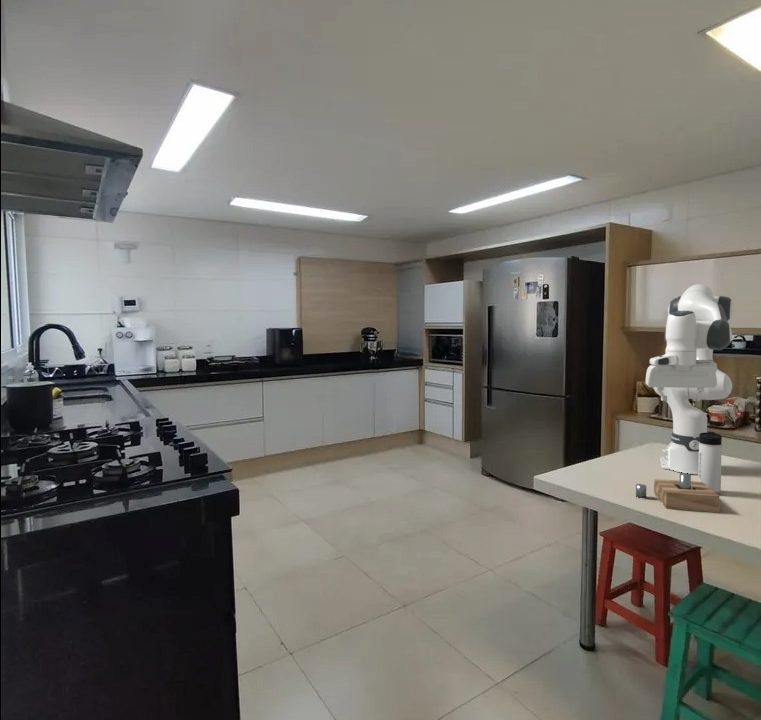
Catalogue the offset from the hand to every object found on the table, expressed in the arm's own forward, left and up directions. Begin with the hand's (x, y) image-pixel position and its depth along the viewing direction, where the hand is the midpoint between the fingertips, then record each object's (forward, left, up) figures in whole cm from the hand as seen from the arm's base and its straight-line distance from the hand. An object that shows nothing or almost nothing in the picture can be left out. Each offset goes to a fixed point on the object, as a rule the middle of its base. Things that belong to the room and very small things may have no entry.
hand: (680, 401), depth 157 cm
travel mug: (-3, +10, -31) cm, 33 cm away
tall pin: (+10, -1, -31) cm, 33 cm away
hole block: (+10, -1, -31) cm, 33 cm away
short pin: (+8, -13, -31) cm, 35 cm away
